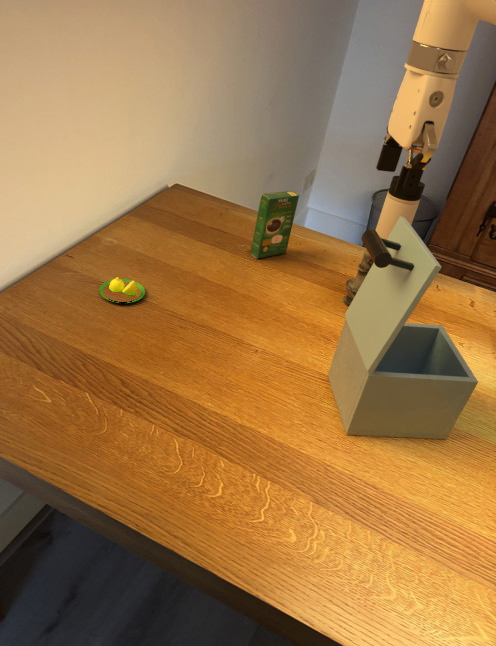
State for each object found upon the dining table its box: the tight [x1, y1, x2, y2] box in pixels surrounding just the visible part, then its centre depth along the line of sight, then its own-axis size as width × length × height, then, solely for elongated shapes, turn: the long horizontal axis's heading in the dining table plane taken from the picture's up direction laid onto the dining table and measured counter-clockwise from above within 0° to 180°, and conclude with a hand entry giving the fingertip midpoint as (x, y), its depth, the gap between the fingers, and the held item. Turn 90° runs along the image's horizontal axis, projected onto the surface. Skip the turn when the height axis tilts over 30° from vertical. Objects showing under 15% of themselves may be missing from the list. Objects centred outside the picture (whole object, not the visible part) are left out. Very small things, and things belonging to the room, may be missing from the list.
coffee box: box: [249, 190, 300, 260], centre depth 111 cm, size 8×3×13 cm, turn 122°
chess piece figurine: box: [342, 249, 374, 308], centre depth 100 cm, size 6×6×12 cm
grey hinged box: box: [327, 319, 479, 440], centre depth 78 cm, size 15×13×11 cm
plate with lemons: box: [99, 276, 146, 304], centre depth 96 cm, size 8×8×3 cm
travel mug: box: [374, 175, 426, 240], centre depth 109 cm, size 6×7×20 cm
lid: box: [344, 216, 442, 373], centre depth 68 cm, size 16×13×6 cm
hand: (394, 181), depth 87 cm, fingers open, 9 cm apart
